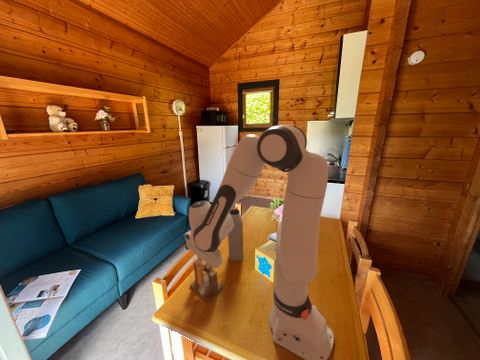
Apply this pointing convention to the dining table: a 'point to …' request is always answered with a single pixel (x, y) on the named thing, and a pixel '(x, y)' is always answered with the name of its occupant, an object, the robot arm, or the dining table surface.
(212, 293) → the hook rail
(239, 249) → the thermos bottle
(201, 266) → the cord bight
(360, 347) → the dining table surface
